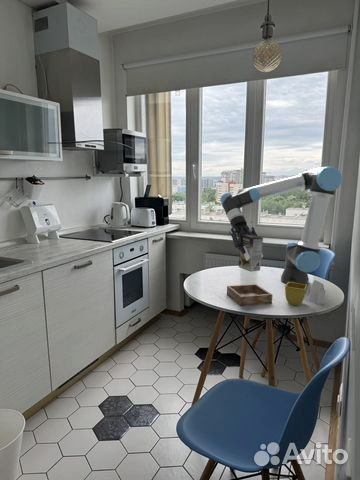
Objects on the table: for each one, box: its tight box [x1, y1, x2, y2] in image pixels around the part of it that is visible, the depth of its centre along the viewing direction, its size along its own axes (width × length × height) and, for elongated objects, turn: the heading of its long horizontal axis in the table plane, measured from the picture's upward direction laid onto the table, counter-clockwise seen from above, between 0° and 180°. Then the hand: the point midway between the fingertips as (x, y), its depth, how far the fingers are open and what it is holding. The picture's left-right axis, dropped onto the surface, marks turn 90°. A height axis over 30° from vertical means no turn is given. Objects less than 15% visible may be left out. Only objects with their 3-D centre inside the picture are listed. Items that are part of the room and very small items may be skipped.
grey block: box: [308, 279, 326, 305], centre depth 157 cm, size 4×7×10 cm, turn 10°
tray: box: [226, 283, 273, 307], centre depth 159 cm, size 16×16×4 cm
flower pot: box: [284, 282, 308, 307], centre depth 154 cm, size 9×9×9 cm
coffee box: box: [238, 234, 264, 273], centre depth 155 cm, size 9×6×16 cm
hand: (254, 258), depth 152 cm, fingers closed on coffee box, 7 cm apart
